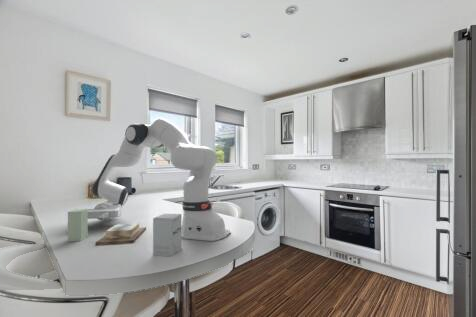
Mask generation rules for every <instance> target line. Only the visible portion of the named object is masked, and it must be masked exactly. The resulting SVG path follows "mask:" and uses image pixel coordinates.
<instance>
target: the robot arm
mask: <svg viewBox="0 0 476 317" xmlns="http://www.w3.org/2000/svg"><path fill="white" fill-rule="evenodd" d="M189 140H190V138H189V135H187V133H185V132H184V131H183V130H182V129H180V128H179V127H178V126H177V125H175V124H174V123H173V122H171V121H169V120H168V119H166V118H163V117H158V118H156V119H154V120H153V121H152V122H151V124H146V123H133V124H130V125H128V127H127V128H126V129H125V134H124V138H123V140H122V142H121V144H120V147H119V150H118V152H117V153H115V154H112V155H110V157H108V159H107V161H106V162H105V164H104V166H103V167H102V170H101V172H100V173H99V175H98V177H97V178H96V180H95V182H94V183H93V185H92V186H91V189H90V190H91V193H92V195H93V196H94V197H97V198H101V199H104V200H106V201H104V202H100V203H98V204H97V205H95V206H94V208H87V209H88V220H90V219H91V220H93V219H94V220H95V219H97V220H98V221H106V220H109V219H114V218H115V219H116V218H120V217H121V216H122V212H123V211H122V209H123V206H124V205H125V204H126V202H127V201H128V198H129V195H130V192H129V190H128V187H127V186H124V185H120V184H118V183H116V182H115V183H114V182H112V181H110V180H109V178H110V176H111V174H112V172H114V169H115V168H129V167H134V166H135V165H137V164H138V163H139V162H140V159H141V158H142V154H143V151H144V148H145V147H146V148H162V147H165V149H167V150H168V151H169V152H170V161H171V164H172V166H174V168H176V169H178V170H183V171H190V172H189V174H188V177H187V179H186V180H185V181H184V182H183V201H182V206H181V207H182V210H183V215H182V220H181V226H182V239H185V240H198V241H205V242H214V241H219V240H221V239H224V238H227V237H228V236H229V235H230V234H231V230H230V229H228V228H226V224H225V220H224V218H223V217H221V215H219V214H218V213H217V212H216V211H215V210H214V209H213V207H212V206H214V202H211V201H210V199H209V187H210V186H209V183H210V178H211V174H212V170H213V168H214V167H215V165H216V164H217V161H218V155H217V152H216V151H215V150H214V149H212V148H210V147H208V146H203V145H202V146H200V145H195V144H193V143H191V142H190V141H189ZM229 233H230V234H229ZM228 234H229V235H228ZM227 235H228V236H227Z"/></svg>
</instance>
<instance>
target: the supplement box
mask: <svg viewBox="0 0 476 317" xmlns="http://www.w3.org/2000/svg"><path fill="white" fill-rule="evenodd" d="M182 239H183V238H182V213H162V214H161V215H160V214H159V215H158V216H155V217H153V218H152V255H153V256H164V257H173V256H174V255H175V254H176V253H177V252H178V251H180V250H181V249H183V248H182V246H183V245H182Z"/></svg>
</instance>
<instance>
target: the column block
mask: <svg viewBox="0 0 476 317" xmlns="http://www.w3.org/2000/svg"><path fill="white" fill-rule="evenodd" d="M88 209H89V208H79V209H78V208H76V209H72V210H69V211H67V242H81V241H83V240H85V239H86V238H88V237H89V236H88V226H89V224H88V223H89V219H88Z"/></svg>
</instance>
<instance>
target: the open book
mask: <svg viewBox="0 0 476 317" xmlns="http://www.w3.org/2000/svg"><path fill="white" fill-rule="evenodd" d="M145 231H147V227H143V226H142V227H140V223H124V224H123V223H121V224H120V223H119V224H115V225H113V226H112V227H110V228H108V229H107V230H105V235H104V236H102V237H101V238H100V239H98V240H97V241H95V243H94V244H95V246H98V245H102V246H103V245H117V244H132V243H136V241H137V240H138V239H139V238H140V236H142V235H143V234H144V233H145Z"/></svg>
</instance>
